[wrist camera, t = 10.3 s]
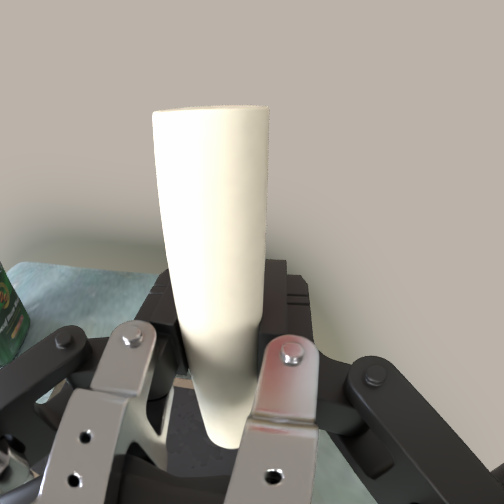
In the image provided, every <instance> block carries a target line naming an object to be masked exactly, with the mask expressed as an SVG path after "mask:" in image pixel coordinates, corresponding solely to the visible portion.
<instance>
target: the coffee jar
mask: <svg viewBox="0 0 504 504" xmlns="http://www.w3.org/2000/svg"><path fill="white" fill-rule="evenodd" d="M29 325H30V318H29V315H28V313H27V312H26V310H25V308H24V306H23V304H22V302H21V300H20V298H19V297H18V295H17V293H16V292H15V290H14V288H13V286H12V285H11V283H10V281H9V279H8V277H7V275H6V273H5V271H4V269H3V267H2V264H1V262H0V367H1V366H4V365H6V364H9V363H10V362H11V361H12V360H13V359H14V357H15V356H16V354H17V352H18V350H19V348H20V347H21V345H22V343H23V341H24V339H25V336H26V334H27V331H28V329H29Z"/></svg>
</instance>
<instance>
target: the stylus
mask: <svg viewBox="0 0 504 504" xmlns="http://www.w3.org/2000/svg"><path fill="white" fill-rule="evenodd" d="M152 116H153V134H154V149H155V162H156V173H157V183H158V193H159V202H160V210H161V218H162V226H163V233H164V240H165V247H166V254H167V260H168V266H169V272H170V278H171V284H172V289H173V295H174V300H175V305H176V311H177V316H178V320H179V325H180V330H181V335H182V339H183V344H184V348H185V353H186V357H187V361H188V365H189V369H190V373H191V377H192V381H193V385H194V389H195V393H196V396H197V400H198V404H199V407H200V411H201V414H202V418H203V421H204V425H205V428H206V431H207V434H208V436H209V438H210V439H211V441H212V442H214V443H215V444H216V445H218V446H220V447H223V448H225V449H229V450H236V449H239V445H240V441H241V437H242V433H243V429H244V426H245V422H246V419H247V417H248V415H250V412H251V409H252V405H253V401H254V396H255V392H256V388H257V360H258V334H259V323H260V321H261V318H262V314H263V293H264V268H265V242H266V240H265V239H266V213H267V180H268V144H269V107H267V106H254V105H217V106H199V107H185V108H174V109H166V110H160V111H155V112H153V115H152Z"/></svg>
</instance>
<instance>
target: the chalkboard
mask: <svg viewBox="0 0 504 504" xmlns="http://www.w3.org/2000/svg"><path fill="white" fill-rule="evenodd" d="M68 385H69V384H68V383H67V381H66V380H65V379H64V380H63V381H61V382H60V383H59V384H58V385H56V386H55V388H54V390H53V392H52V393H51V395H50V397H49V399H48V401H49V400H50V399H51V398H53V397H54V396H55V395H56V394H58V393H59V392H60V391H62V390H63V389H64V388H66V387H67V386H68ZM173 386H174V396H173V402H172V407H171V413H170V419H169V425H168V431H167V438H166V446H167V452H168V466H167V473H169V474H171V475H174V476H176V477H206V476H220V475H230V476H231V475H232V471H233V468H234V464H235V460H236V456H237V453H238V449H236V450H229V449H225V448H223V447H220V446H218V445H216V444H215V443H214V442H212V441H211V439H210V438H209V436H208V434H207V431H206V428H205V425H204V421H203V418H202V414H201V411H200V407H199V404H198V400H197V396H196V393H195V389H194V385H193V381H192V380H187V379H181V378H175V379H174V382H173ZM49 455H50V453H49V454H48V455H47V456H46V457H44V458H43V459H42V460H40V461H39V462H38V463H37V464H35V465H34V466H33V467H31V468H30V470H31V471H32V472H33V474H34V478H36V477H38V476H40V475H42V474H43V473H44V472H45V469H46V465H47V462H48V458H49Z"/></svg>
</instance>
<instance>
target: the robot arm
mask: <svg viewBox="0 0 504 504" xmlns="http://www.w3.org/2000/svg"><path fill="white" fill-rule="evenodd" d="M286 270H287V266H286V260H272V259H266V261H265V272H264V293H263V314H262V318H261V321H260V323H259V334H258V360H257V388H256V392H255V396H254V401H253V405H252V409H251V412H250V415H248V417H247V419H246V422H245V426H244V429H243V433H242V437H241V441H240V445H239V449H238V453H237V456H236V460H235V464H234V468H233V471H232V475H231V476H230V475H220V476H206V477H176V476H174V475H171V474H169V473H167V466H168V452H167V446H166V438H167V431H168V425H169V419H170V413H171V407H172V402H173V396H174V386H173V382H174V379H175V376H176V374H178V375H185V376H186V375H187V372H188V369H189V365H188V361H187V357H186V353H185V348H184V344H183V339H182V335H181V330H180V325H179V320H178V316H177V311H176V305H175V300H174V295H173V289H172V284H171V278H170V272H169V268H168V269H167V270H165V271H164V272H163V273H161V274H160V275H159V277H158V278H157V280H156V282H155V284H154V286H153V287H152V289H151V290H150V294H148V296H147V297H146V299H145V301H144V303H143V304H142V306H141V308H140V310H139V312H138V313H137V315H136V317H135V319H134V320H131V321H127V322H125V323H122V324H120V325H119V326H118V327H116V328H115V329H114V331H113V332H112V334H111V335H110V337H103V338H90V339H88V338H87V336H86V334H85V332H84V331H83V329H81V328H80V327H78V326H73V325H69V326H64V327H62V328H59V329H58V330H56V331H55V332H53V333H52V334H50V335H49V336H47V337H46V338H44V339H43V340H41V341H40V342H38V343H37V344H36V345H34V346H33V347H31V348H30V349H28V350H27V351H26V352H24V353H23V354H21V355H20V356H19V357H17V358H16V359H14V360H13V361H12V362H10V363H9V364H7V365H6V366H5V367H3V368H2V369H0V504H311V499H312V492H313V484H314V476H315V467H316V458H317V447H318V436H319V429H321V430H325V431H327V433H328V435H329V436H330V438H331V439H332V441H333V442H334V443H335V445H336V446H337V448H338V449H339V451H340V452H341V453H342V455H343V456H344V458H345V459H346V460H347V462H348V463H349V465H350V466H351V467H352V469H353V470H354V472H355V473H356V474H357V476H358V477H359V479H360V480H361V481H362V483H363V484H364V485H365V487H366V488H367V490H368V491H369V492H370V494H371V495H372V496H373V498H374V499H375V500H376V502H377V503H378V504H504V488H503V487H502V486H501V485H500V483H499V482H498V481H497V480H496V479H495V477H494V476H493V475H492V474H491V473H490V472H489V470H488V469H487V468H486V467H485V466H484V465H483V463H481V461H480V460H479V459H478V458H477V456H476V455H475V454H474V453H473V452H472V451H471V450H470V448H469V447H468V446H467V445H466V444H465V443H464V442H463V441H462V439H461V438H460V437H459V436H458V435H457V434H456V433H455V432H454V430H453V429H452V428H451V427H450V426H449V425H448V424H447V423H446V422H445V421H444V420H443V418H442V417H441V416H440V415H439V414H438V413H437V412H436V410H435V409H434V408H433V407H432V406H431V405H430V404H429V403H428V402H427V401H426V400H425V399H424V397H423V396H422V395H421V394H420V393H419V392H418V391H417V390H416V389H415V388H414V387H413V386H412V384H411V383H410V382H409V381H408V380H407V379H406V378H405V377H404V376H403V375H402V374H401V373H400V371H399V370H398V369H397V368H396V367H395V366H394V365H393V364H392V363H390V362H389V361H387V360H386V359H384V358H381V357H377V356H365V357H361V358H359V359H357V360H356V361H355V362H353V364H352V365H350V364H347V363H343V362H339V361H336V360H333V359H330V358H328V357H327V356H325V355H323V354H322V353H321V352H320V351H319V350H318V349H317V347H316V346H315V343H314V340H313V331H312V321H311V311H310V301H309V292H308V284H307V283H306V282H305V280H304V279H303V278H302V276H301V275H287V271H286ZM64 379H65V380H66V381H67V383H68V384H69V385H68V386H67V387H66V388H64V389H63V390H62V391H60V392H59V393H58V394H56V395H55V396H54V397H53V398H51V399H50V400H49V401H47V402H46V403H44V404H38V403H36V401H37V400H38V399H39V398H40V397H42V396H43V395H44V394H46V393H47V392H48V391H50V390H51V389H52V388H54V387H55V386H56V385H58V384H59V383H60V382H61V381H63V380H64ZM49 453H50V455H49V458H48V462H47V465H46V469H45V472H44V473H43V474H42V475H40V476H38V477H36V478H34V474H33V472H32V471H31V470H30V468H31V467H33V466H34V465H35V464H37V463H38V462H39V461H40V460H42V459H43V458H44V457H46V456H47V455H48V454H49ZM24 483H25V484H24Z"/></svg>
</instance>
